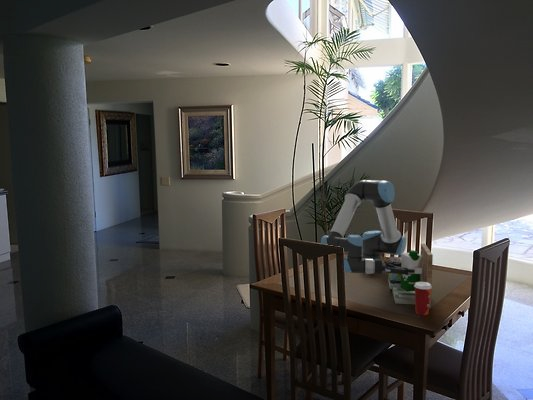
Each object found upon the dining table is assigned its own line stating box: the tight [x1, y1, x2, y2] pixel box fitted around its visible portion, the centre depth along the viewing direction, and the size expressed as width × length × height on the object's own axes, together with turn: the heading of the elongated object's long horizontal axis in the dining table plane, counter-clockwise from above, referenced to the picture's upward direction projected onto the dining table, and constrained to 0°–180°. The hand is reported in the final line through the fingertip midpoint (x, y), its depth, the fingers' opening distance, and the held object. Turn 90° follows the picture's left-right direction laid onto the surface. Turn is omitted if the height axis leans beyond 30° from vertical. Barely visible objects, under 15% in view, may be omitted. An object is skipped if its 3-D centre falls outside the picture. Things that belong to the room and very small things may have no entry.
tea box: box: [387, 256, 401, 290], centre depth 249 cm, size 15×10×15 cm
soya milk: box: [400, 249, 422, 292], centre depth 228 cm, size 9×9×20 cm
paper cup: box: [414, 282, 433, 316], centre depth 210 cm, size 8×8×14 cm
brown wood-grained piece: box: [392, 243, 434, 309], centre depth 228 cm, size 24×16×26 cm, turn 169°
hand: (420, 268), depth 227 cm, fingers closed on soya milk, 9 cm apart
